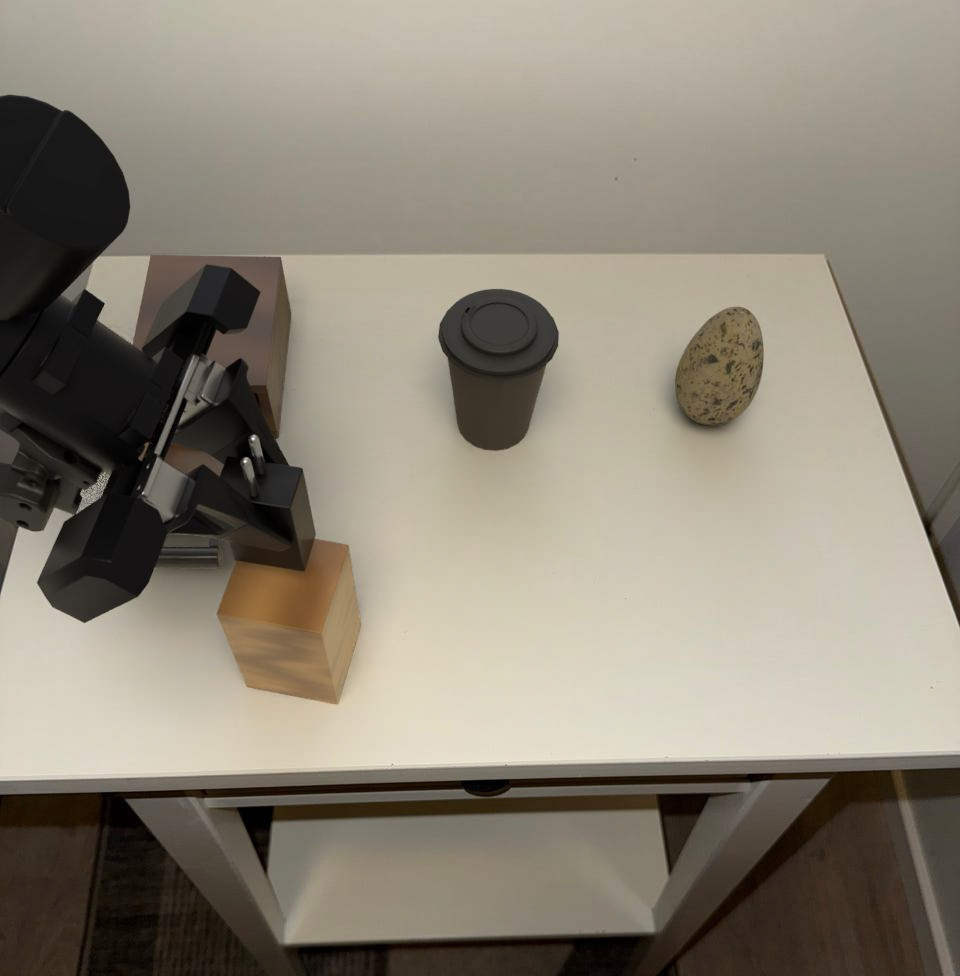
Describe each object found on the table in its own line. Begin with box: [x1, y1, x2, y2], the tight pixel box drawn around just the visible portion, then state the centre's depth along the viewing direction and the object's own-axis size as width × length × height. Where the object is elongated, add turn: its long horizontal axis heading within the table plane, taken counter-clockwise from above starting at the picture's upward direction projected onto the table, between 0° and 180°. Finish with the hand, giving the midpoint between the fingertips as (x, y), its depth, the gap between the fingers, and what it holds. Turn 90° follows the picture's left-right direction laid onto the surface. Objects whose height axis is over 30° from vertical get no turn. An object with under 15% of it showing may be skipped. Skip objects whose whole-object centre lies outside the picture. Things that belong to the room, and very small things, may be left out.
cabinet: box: [132, 254, 292, 439], centre depth 72 cm, size 13×10×6 cm
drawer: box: [139, 393, 260, 569], centre depth 67 cm, size 16×8×4 cm, turn 1°
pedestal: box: [216, 538, 362, 705], centre depth 60 cm, size 6×6×10 cm
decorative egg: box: [674, 306, 765, 427], centre depth 70 cm, size 6×6×10 cm
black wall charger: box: [220, 434, 317, 571], centre depth 51 cm, size 4×3×9 cm, turn 81°
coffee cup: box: [437, 288, 560, 451], centre depth 69 cm, size 8×8×10 cm
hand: (293, 524), depth 52 cm, fingers closed on black wall charger, 2 cm apart
